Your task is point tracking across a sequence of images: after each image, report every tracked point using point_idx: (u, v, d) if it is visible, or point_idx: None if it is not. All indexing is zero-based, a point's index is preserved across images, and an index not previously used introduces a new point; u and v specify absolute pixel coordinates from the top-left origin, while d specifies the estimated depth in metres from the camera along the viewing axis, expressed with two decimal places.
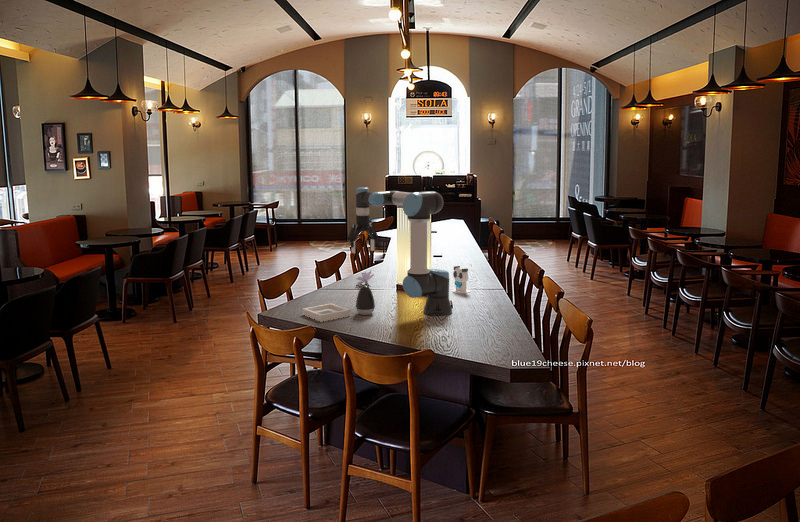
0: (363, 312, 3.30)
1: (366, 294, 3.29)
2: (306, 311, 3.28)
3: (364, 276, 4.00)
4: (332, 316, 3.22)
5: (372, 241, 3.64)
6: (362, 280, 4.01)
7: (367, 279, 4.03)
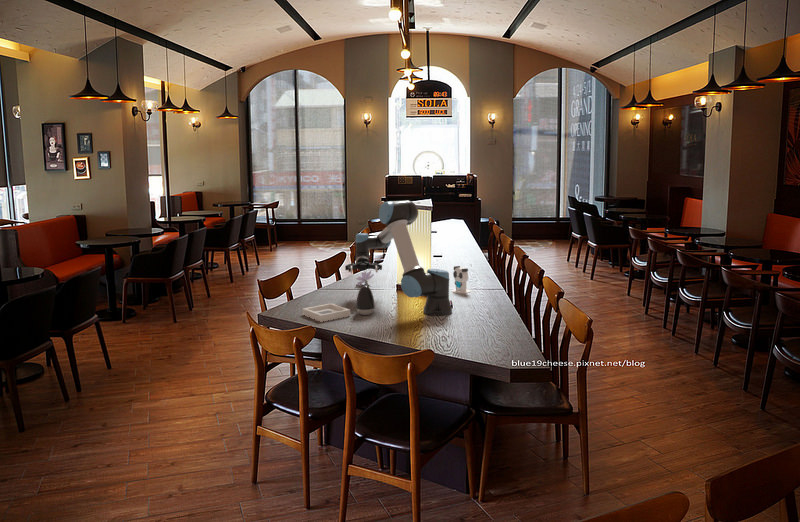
0: (363, 312, 3.30)
1: (366, 294, 3.29)
2: (306, 311, 3.28)
3: (364, 276, 4.00)
4: (332, 316, 3.22)
5: (375, 267, 3.46)
6: (362, 280, 4.01)
7: (367, 279, 4.03)
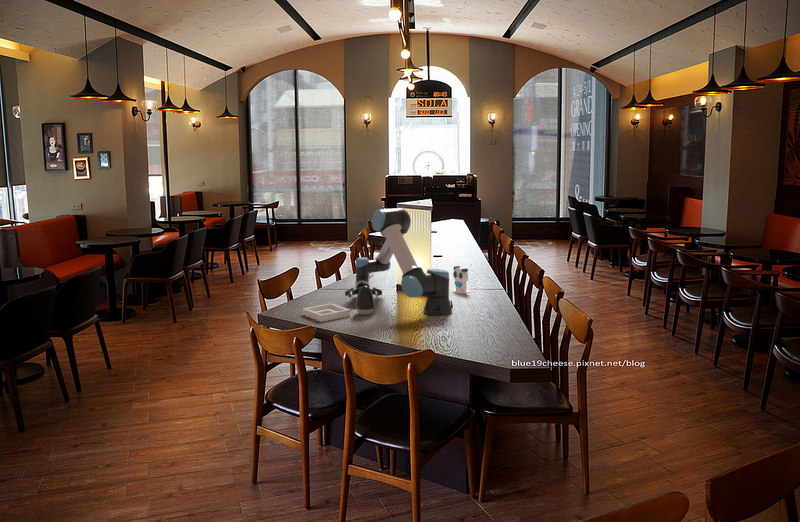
0: (363, 312, 3.30)
1: (366, 294, 3.29)
2: (306, 311, 3.28)
3: None
4: (332, 316, 3.22)
5: (375, 293, 3.45)
6: None
7: None
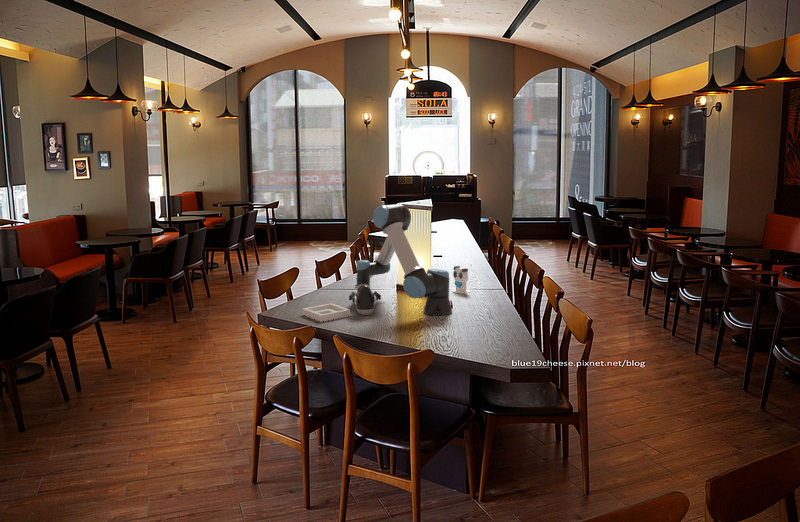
0: (363, 312, 3.30)
1: (366, 294, 3.29)
2: (306, 311, 3.28)
3: None
4: (332, 316, 3.22)
5: (374, 297, 3.34)
6: None
7: None
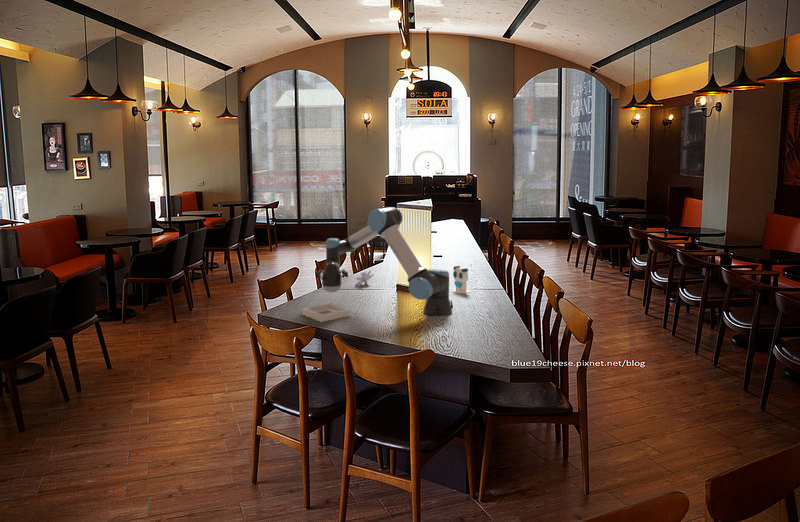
0: (329, 289, 3.26)
1: (332, 271, 3.25)
2: (306, 311, 3.28)
3: (363, 276, 3.99)
4: (332, 316, 3.22)
5: (340, 274, 3.30)
6: (361, 280, 4.01)
7: (366, 279, 4.02)
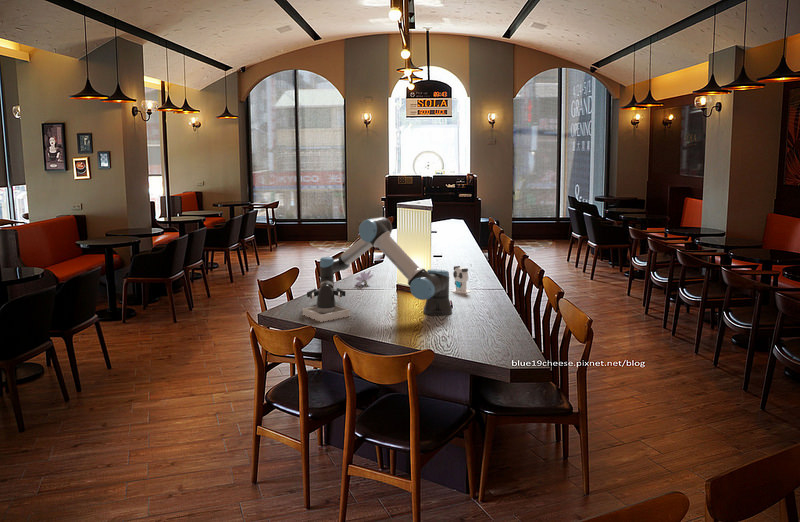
0: (323, 311, 3.26)
1: (326, 292, 3.25)
2: (306, 311, 3.28)
3: (363, 276, 3.99)
4: (332, 316, 3.22)
5: None
6: (361, 280, 4.01)
7: (366, 279, 4.02)
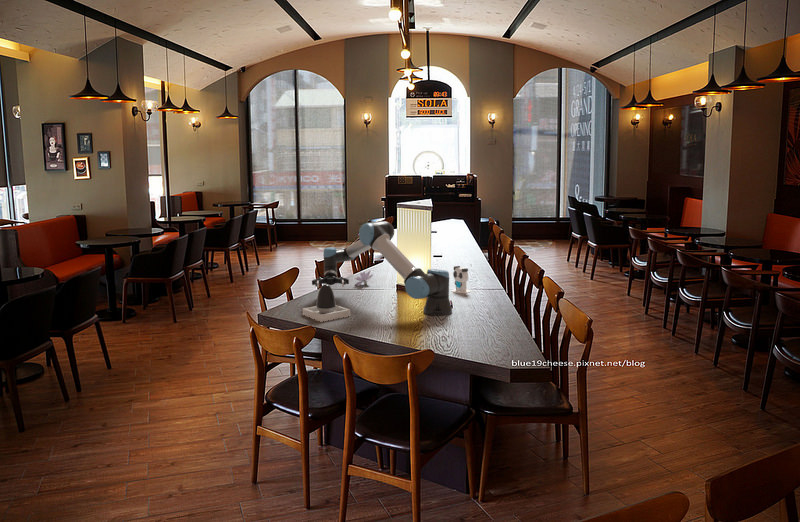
0: (323, 311, 3.26)
1: (326, 293, 3.25)
2: (306, 311, 3.28)
3: (363, 276, 3.99)
4: (332, 316, 3.22)
5: (342, 281, 3.46)
6: (361, 280, 4.01)
7: (366, 279, 4.02)
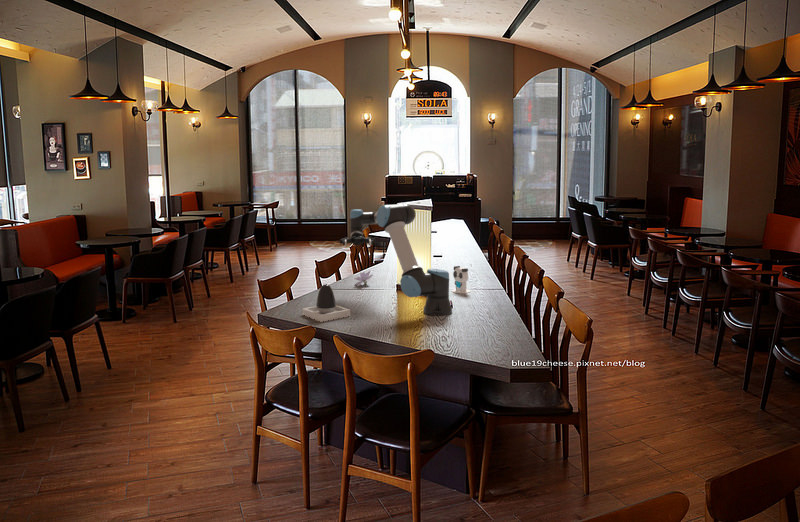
0: (323, 311, 3.26)
1: (326, 293, 3.25)
2: (306, 311, 3.28)
3: (362, 276, 3.99)
4: (332, 316, 3.22)
5: (369, 241, 3.52)
6: (361, 280, 4.01)
7: (366, 279, 4.02)
